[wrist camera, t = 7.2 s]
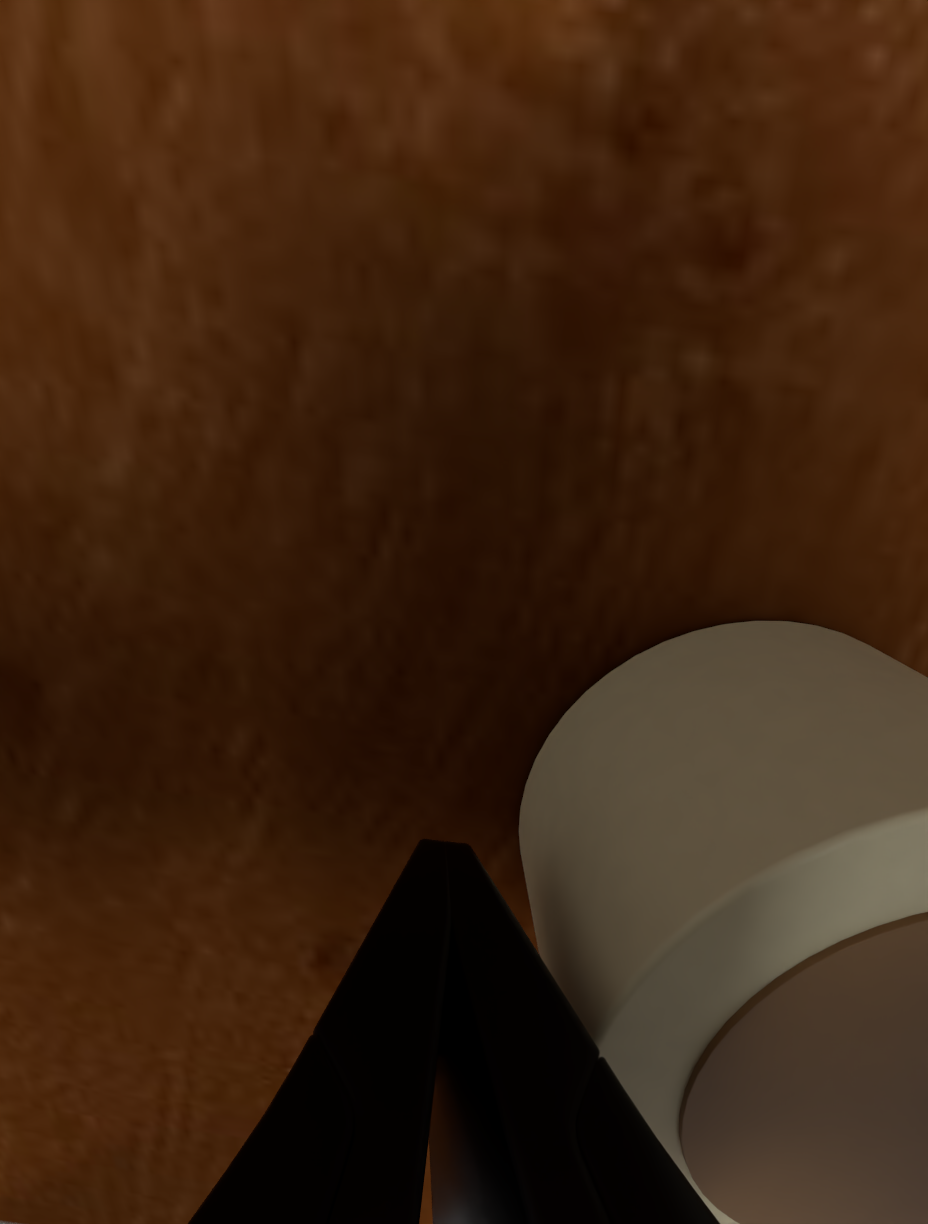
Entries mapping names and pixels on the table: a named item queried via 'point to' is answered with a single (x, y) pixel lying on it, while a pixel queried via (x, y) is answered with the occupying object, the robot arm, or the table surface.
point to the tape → (750, 912)
